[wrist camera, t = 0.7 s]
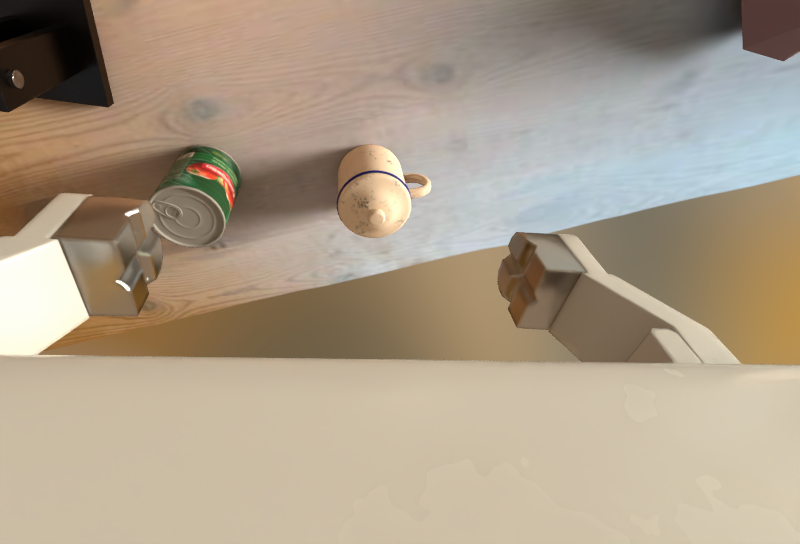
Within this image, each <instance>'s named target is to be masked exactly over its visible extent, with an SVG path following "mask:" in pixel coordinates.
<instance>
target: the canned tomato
mask: <svg viewBox="0 0 800 544" xmlns="http://www.w3.org/2000/svg"><path fill="white" fill-rule="evenodd" d="M241 183H242V175H241V171H240V168H239V166H238V164H237V163H236V161H235V160H234V159H233V158H232V157H231V156H230V155H229V154H227V153H226V152H225V151H223V150H221V149H219V148H216V147H213V146H209V145H196V146H192V147H190V148H187V149H186V150H185V151H183V152H182V153H181V155H180V156H179V158H178V160H177V161H176V162H175V164H174V165H173V167H172V168H171V169H170V171H169V172H168V174H167V175H166V176H165V178H164V179H163V181H162V182H161V184H160V185H159V187H158V188H157V190H156V191H155V193H154V194H153V195H152V196H151V197H150V199H149V202H150V203H151V204H152V205H153V208H154V211H155V215H156V221H155V223H154V225H153V226H152V227H153V228H154V229H155V230H156V232H157V233H158V234H160V235H161V236H162V237H163V238H165V239H167V240H168V241H170V242H172V243H174V244H177V245H180V246H184V247H191V248H199V247H205V246H208V245H211V244H213V243H214V242H216V241H217V240H218V239H219V238H220V237H221V236H222V234H223V232H224V229H225V226H226V224H227V221H228V218H229V216H230V213H231V210H232V207H233V205H234V202H235V200H236V197H237V194H238V191H239V189H240V187H241Z"/></svg>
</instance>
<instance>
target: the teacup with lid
mask: <svg viewBox="0 0 800 544" xmlns="http://www.w3.org/2000/svg"><path fill="white" fill-rule="evenodd" d="M405 183H419V184H421V185H423V186H421V187H419V188H413V189H408V187H407V186H406V184H405ZM430 190H431V183H430V180H429V179H428V178H427V177H425V176H423V175H421V174H416V173H409V174H403V173H402V170H401V166H400V163H399V161H398V160H397V158H396V157H395V155H394V154H393V153H392V152H390V151H389V150H388V149H386V148H384V147H381V146H378V145H363V146H359V147H357V148H355V149H353V150H351V151H350V152H349V153H347V154H346V156H345V157H344V158H343V160H342V161H341V163H340V166H339V170H338V198H337V211H338V215H339V217H340V219H341V221H342V222H343V223H344V225H345V226H346V227H347V228H348V229H349V230H351V231H352V232H354V233H356V234H358V235H360V236H363V237H369V238H378V237H384V236H387V235H390V234H392V233H394V232H395V231H397V230H398V229H399V228H400V227H401V226H402V225H403V224H404V223H405V222H406V220H407V219H408V217H409V214H410V211H411V207H412V198H418V197H422V196H424V195H426V194H428V193H429V192H430Z"/></svg>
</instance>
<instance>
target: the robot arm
mask: <svg viewBox="0 0 800 544" xmlns="http://www.w3.org/2000/svg"><path fill="white" fill-rule="evenodd" d="M155 221H156V215H155V211H154V208H153V205H152V204H151V203H150V202H149V201H148V200H138V199H128V198H119V197H109V196H99V195H91V194H78V193H59V194H58V195H57V196H56V197H55V198H54V199H53V200H52V201H51V202H50V203H49V204H48V205H47V206H46V207H44V208H43V209H42V210H41V211H40V212H39V213H38V214H37V215H36V216H35V217H34V218H33V219H32V220H31V221H30V222H29V223H28V224H27V225H25V226H24V227H23V228H22V229H21V230H20V231H19V232H18V233H17V234H16V235H15V236H14V237H13V236H2V237H0V544H800V365H782V364H741V363H740V362H739V361H738V360H737V359H736V358H735V357H734V356H733V355H732V353H731V352H730V351H729V350H728V349H727V348H726V347H725V346H724V345H723V344H722V343H721V342H720V341H719V340H718V338H717V337H716V336H715V335H714V334H713V333H712V332H711V331H710V330H709V329H707V328H706V327H704V326H702V325H700V324H699V323H697V322H695V321H693V320H692V319H690V318H688V317H686V316H685V315H683V314H681V313H679V312H678V311H676V310H674V309H672V308H671V307H669V306H667V305H665V304H664V303H662V302H660V301H658V300H657V299H655V298H653V297H651V296H650V295H648V294H646V293H644V292H643V291H641V290H639V289H637V288H635V287H634V286H632V285H630V284H628V283H627V282H625V281H623V280H621V279H620V278H618V277H616V276H614V275H610V274H607V273H606V272H605V271H604V269H603V268H602V267H601V266H600V264H599V263H598V262H597V261H596V259H595V258H594V257H593V256H592V255H591V253H590V252H589V251H588V250H587V248H586V247H585V246H584V245H583V243H582V242H581V241H580V240H579V238H577V237H576V236H573V235H562V234H542V233H524V232H516V233H515V234H514V236H513V237H512V238H511V241H510V243H509V245H508V247H509V249H510V252H511V254H510V255H509V256H507V257H506V258H505V259H503V260H502V263H501V266H500V268H499V271H498V287H499V290H500V293H501V295H502V296H503V297H504V298H505V299H507V300H508V301H509V302H510V305H509V307H508V310H509V312H510V314H511V316H512V318H513V321H514V323H515V325H516V327H517V328H525V329H526V328H527V329H543V330H544V329H545V330H549V332H550V333H551V334H552V335H553V336H554V337H555V338H556V339H557V340H558V341H559V342H561V343H562V344H563V345H564V346H565V347H566V348H567V349H568V350H569V351H570V352H572V353H573V354H574V355H575V356H576V357H577V358H578V359H579V360H580V361H581V362H540V361H466V360H383V359H302V358H298V359H297V358H225V357H149V356H148V357H147V356H71V355H67V356H66V355H37V354H39V353H40V352H41V351H43V350H44V349H46V348H47V347H49V346H50V345H52V344H53V343H54V342H56V341H57V340H59V339H60V338H62V337H63V336H64V335H66V334H67V333H69V332H70V331H72V330H73V329H74V328H76V327H77V326H79V325H80V324H82V323H83V322H84V321H86V320H87V319H89V316H138V314H139V312H140V310H141V308H142V307H143V305H144V303H145V301H146V299H147V297H148V295H149V291H148V287H147V284H149V283H151V282H153V281H154V280H156V279H157V277H158V275H159V273H160V270H161V265H162V260H163V248H162V242H161V237H160V236H159V235H158V234H157V233H155V232H154V231H153V230H152V229H151V228H152V226H153V225H154V223H155Z"/></svg>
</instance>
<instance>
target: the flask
mask: <svg viewBox="0 0 800 544" xmlns="http://www.w3.org/2000/svg"><path fill="white" fill-rule="evenodd" d="M741 3H742V36H743V49H744V50H747V51H751V52H754V53H757V54H761V55H764V56H767V57H771V58H774V59H777V60H781V61H785V60H787V59H788V58H790V57H792V56H794V55H795V54H797V53H799V52H800V0H741Z"/></svg>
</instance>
